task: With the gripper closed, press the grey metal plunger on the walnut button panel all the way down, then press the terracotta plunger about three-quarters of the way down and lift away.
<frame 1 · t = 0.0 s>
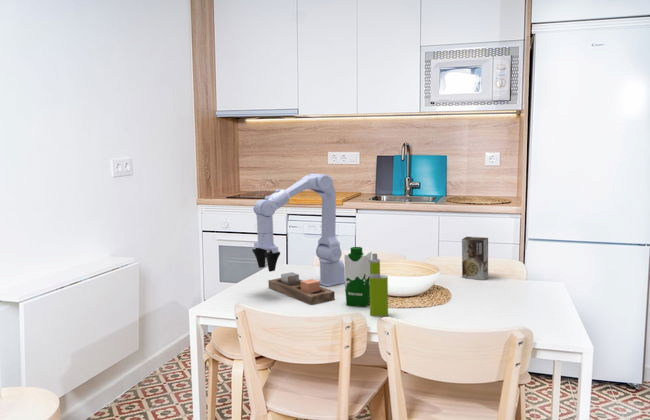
hand: (266, 269, 207), 10 cm above the table, tool pointing down, fingers open, 7 cm apart
coffee box: (475, 278, 227), on the table
grey plunger: (290, 278, 216), point 4 cm above the table, slide at 0.0 cm
vape: (378, 315, 183), on the table
milk carton: (359, 303, 196), on the table
terracotta plunger: (310, 285, 204), point 4 cm above the table, slide at 0.0 cm
button panel: (300, 293, 210), on the table
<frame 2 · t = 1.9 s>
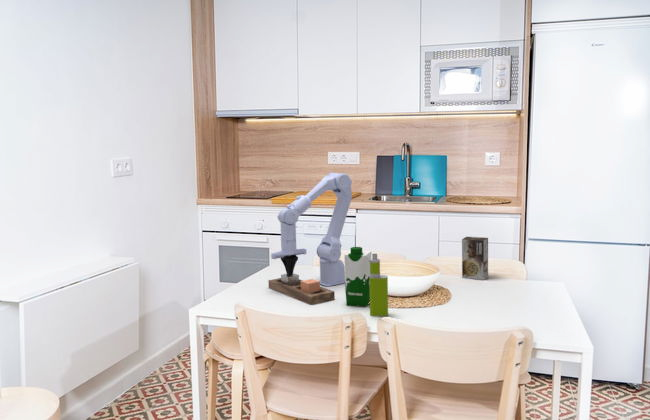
hand: (289, 275, 215), 6 cm above the table, tool pointing down, fingers closed, pressing on grey plunger
grey plunger: (290, 279, 216), point 4 cm above the table, slide at 0.2 cm, touching gripper
everything else where it was.
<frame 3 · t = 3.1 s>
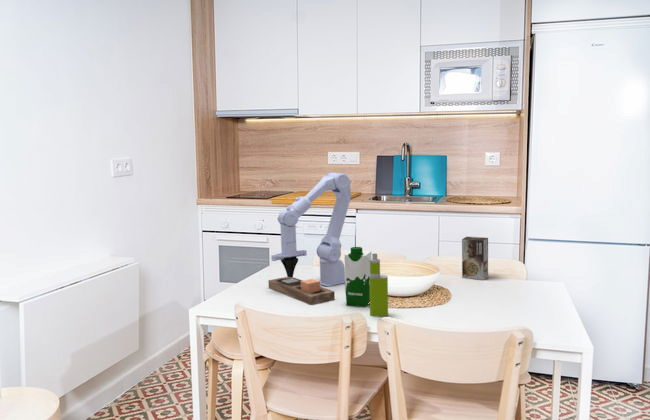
hand: (290, 276, 216), 5 cm above the table, tool pointing down, fingers closed
grey plunger: (290, 285, 216), point 2 cm above the table, slide at 2.5 cm
everything else where it was.
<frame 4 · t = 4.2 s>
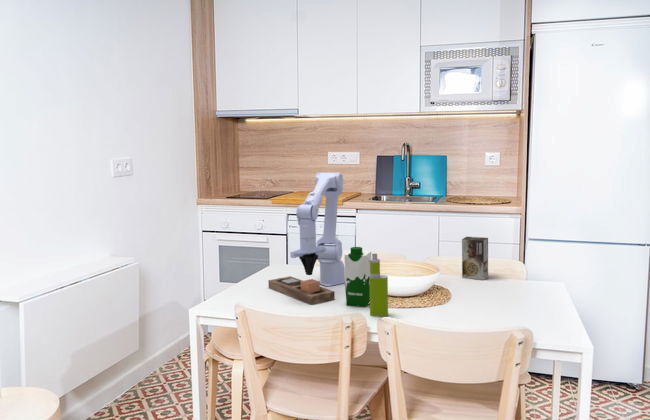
hand: (309, 274, 204), 8 cm above the table, tool pointing down, fingers closed
nothing on the table moved.
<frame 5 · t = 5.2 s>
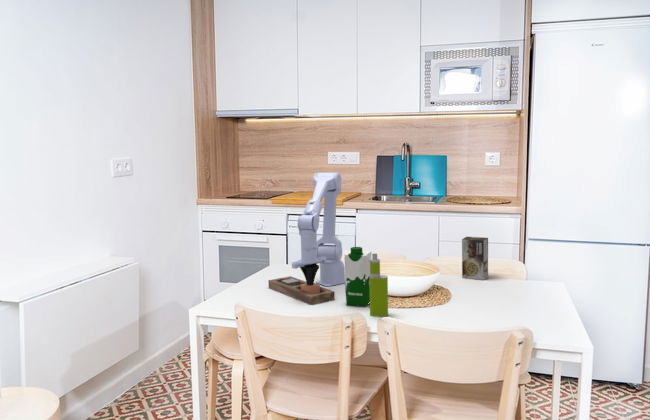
hand: (310, 284, 204), 5 cm above the table, tool pointing down, fingers closed, pressing on terracotta plunger
terracotta plunger: (310, 289, 204), point 3 cm above the table, slide at 1.2 cm, touching gripper
everything else where it was.
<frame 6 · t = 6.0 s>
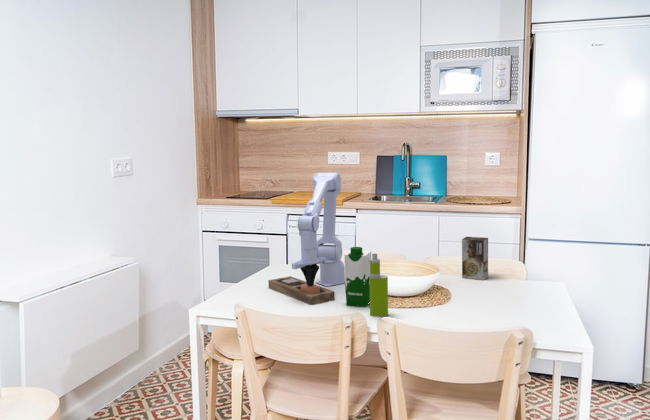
hand: (310, 285, 204), 5 cm above the table, tool pointing down, fingers closed
terracotta plunger: (310, 290, 204), point 3 cm above the table, slide at 1.7 cm
everything else where it was.
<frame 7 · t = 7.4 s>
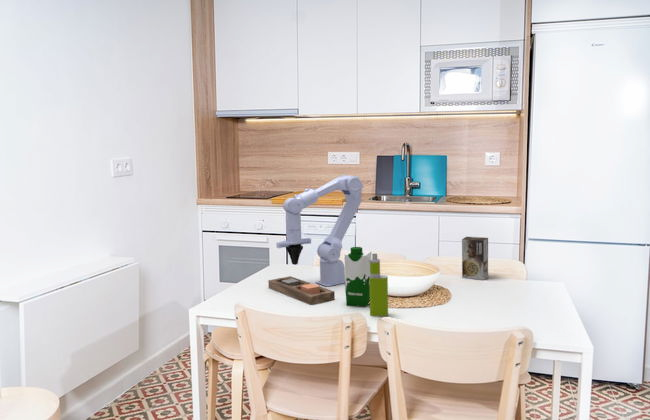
hand: (294, 264, 218), 9 cm above the table, tool pointing down, fingers closed
nothing on the table moved.
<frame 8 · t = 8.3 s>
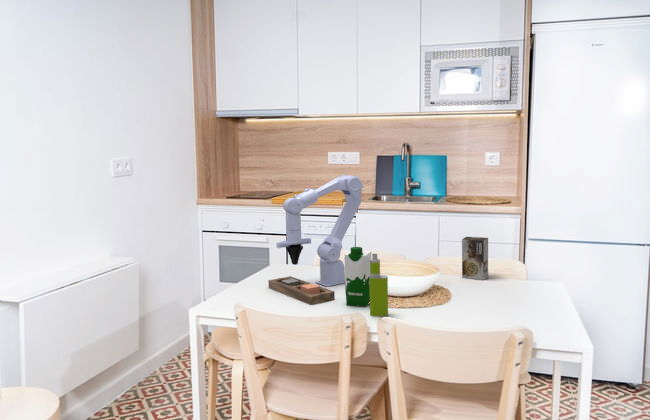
hand: (294, 264, 218), 9 cm above the table, tool pointing down, fingers closed
nothing on the table moved.
at the end: grey plunger slide at 2.5 cm; terracotta plunger slide at 1.7 cm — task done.
